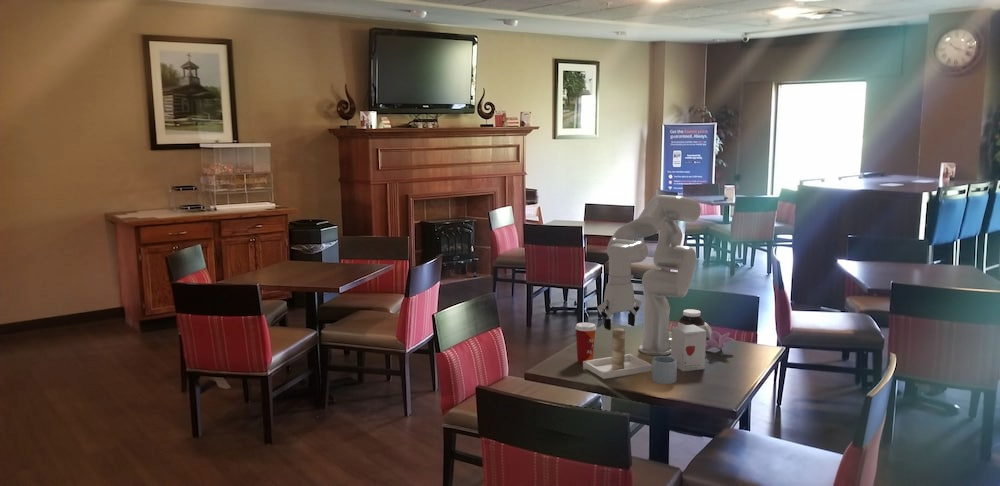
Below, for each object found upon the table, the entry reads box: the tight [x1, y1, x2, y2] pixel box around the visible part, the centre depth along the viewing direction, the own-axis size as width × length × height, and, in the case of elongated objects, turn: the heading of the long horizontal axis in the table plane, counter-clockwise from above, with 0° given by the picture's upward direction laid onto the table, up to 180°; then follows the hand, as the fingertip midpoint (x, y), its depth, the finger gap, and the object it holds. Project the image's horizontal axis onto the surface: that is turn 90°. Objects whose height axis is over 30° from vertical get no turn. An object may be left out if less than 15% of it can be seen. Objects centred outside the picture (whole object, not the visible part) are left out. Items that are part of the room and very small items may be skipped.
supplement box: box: [670, 325, 707, 372], centre depth 258 cm, size 9×9×15 cm
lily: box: [706, 330, 735, 357], centre depth 275 cm, size 12×12×10 cm
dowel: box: [611, 327, 626, 370], centre depth 256 cm, size 4×4×14 cm
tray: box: [582, 353, 652, 380], centre depth 257 cm, size 20×14×3 cm
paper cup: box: [574, 322, 597, 365], centre depth 266 cm, size 8×8×14 cm
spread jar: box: [677, 308, 713, 340], centre depth 294 cm, size 12×11×12 cm
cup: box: [650, 355, 678, 385], centre depth 245 cm, size 8×8×8 cm
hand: (619, 327), depth 255 cm, fingers open, 9 cm apart
